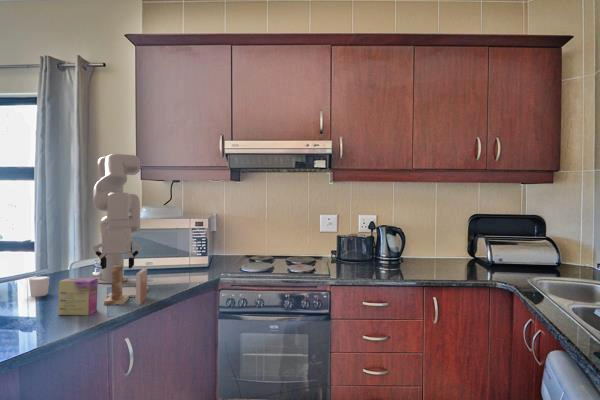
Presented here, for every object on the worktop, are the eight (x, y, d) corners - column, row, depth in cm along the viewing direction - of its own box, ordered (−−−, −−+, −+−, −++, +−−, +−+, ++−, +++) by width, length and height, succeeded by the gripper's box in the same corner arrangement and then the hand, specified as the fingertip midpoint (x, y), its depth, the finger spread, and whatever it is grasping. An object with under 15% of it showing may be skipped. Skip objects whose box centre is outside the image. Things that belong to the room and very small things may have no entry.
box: (97, 310, 127) (98, 277, 127) (88, 315, 122) (89, 281, 122) (68, 310, 127) (68, 277, 127) (57, 315, 121) (58, 281, 121)
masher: (103, 305, 134) (104, 268, 134) (110, 299, 141) (110, 264, 140) (123, 304, 135) (124, 267, 135) (129, 299, 142) (129, 264, 142)
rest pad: (106, 298, 142) (106, 295, 142) (117, 289, 155) (117, 287, 155) (140, 297, 145) (141, 294, 145) (148, 288, 157) (148, 286, 157)
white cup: (46, 291, 150) (46, 275, 150) (51, 294, 146) (52, 277, 146) (26, 294, 145) (26, 277, 145) (31, 298, 141) (31, 280, 140)
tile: (135, 305, 134) (136, 273, 134) (142, 297, 144) (143, 268, 144) (140, 304, 135) (141, 273, 135) (147, 297, 144) (147, 268, 144)
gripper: (89, 224, 132) (89, 270, 132) (139, 224, 135) (138, 269, 135) (97, 223, 140) (97, 267, 139) (144, 223, 143) (143, 265, 142)
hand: (117, 268), depth 137 cm, fingers open, 9 cm apart
